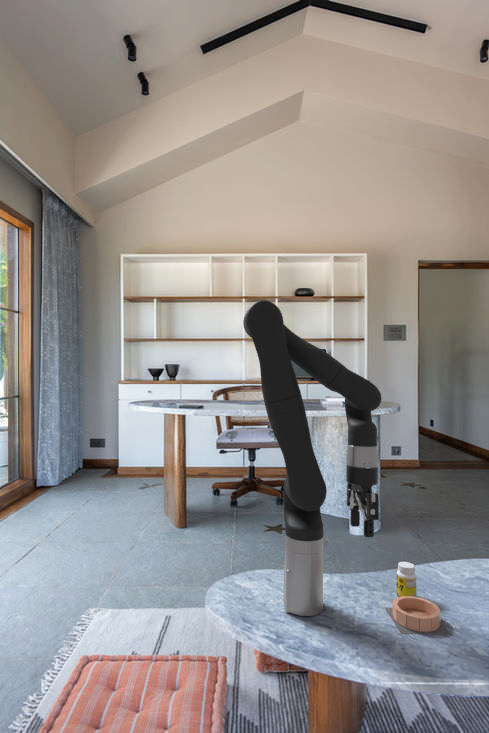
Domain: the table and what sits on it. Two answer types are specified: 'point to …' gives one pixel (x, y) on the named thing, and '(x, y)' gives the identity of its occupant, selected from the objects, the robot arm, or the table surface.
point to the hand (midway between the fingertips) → (361, 531)
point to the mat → (406, 631)
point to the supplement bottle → (406, 579)
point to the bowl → (416, 614)
